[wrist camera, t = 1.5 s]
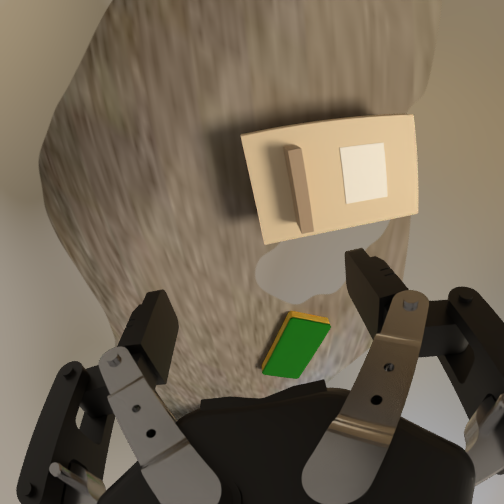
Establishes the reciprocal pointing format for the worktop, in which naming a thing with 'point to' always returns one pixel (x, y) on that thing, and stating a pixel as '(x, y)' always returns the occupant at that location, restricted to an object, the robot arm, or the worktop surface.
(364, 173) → the lid
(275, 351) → the dish sponge
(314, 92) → the worktop surface
